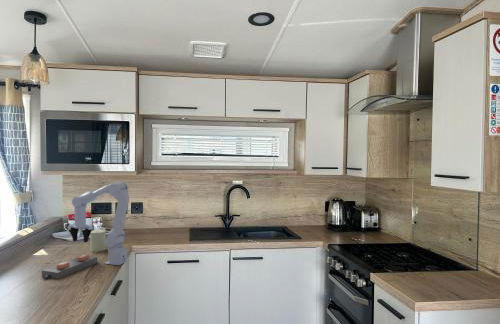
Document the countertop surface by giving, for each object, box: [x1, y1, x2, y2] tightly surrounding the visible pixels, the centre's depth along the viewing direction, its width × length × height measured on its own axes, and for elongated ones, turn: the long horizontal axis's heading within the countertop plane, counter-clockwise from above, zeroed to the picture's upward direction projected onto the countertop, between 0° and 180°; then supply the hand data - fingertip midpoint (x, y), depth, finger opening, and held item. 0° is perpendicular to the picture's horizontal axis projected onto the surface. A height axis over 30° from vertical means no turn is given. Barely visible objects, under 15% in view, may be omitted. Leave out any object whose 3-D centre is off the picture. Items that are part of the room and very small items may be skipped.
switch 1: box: [56, 261, 70, 269], centre depth 172 cm, size 3×5×2 cm, turn 162°
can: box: [89, 229, 107, 253], centre depth 215 cm, size 9×9×12 cm
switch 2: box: [76, 254, 90, 261], centre depth 184 cm, size 3×5×2 cm, turn 162°
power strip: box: [41, 255, 98, 280], centre depth 177 cm, size 10×29×3 cm, turn 162°
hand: (80, 241), depth 194 cm, fingers open, 7 cm apart
